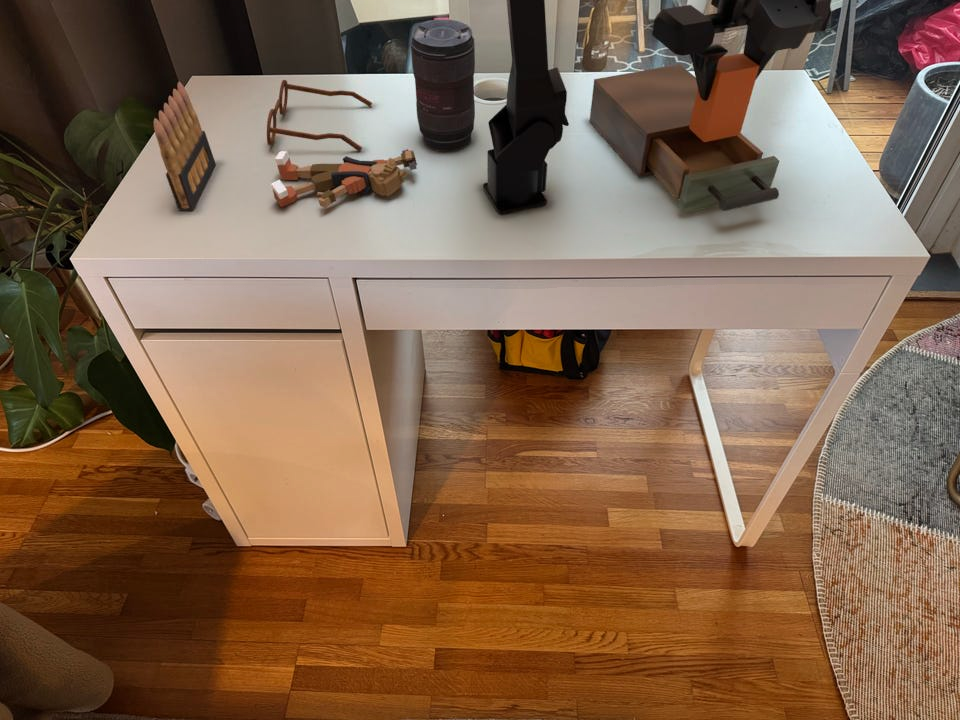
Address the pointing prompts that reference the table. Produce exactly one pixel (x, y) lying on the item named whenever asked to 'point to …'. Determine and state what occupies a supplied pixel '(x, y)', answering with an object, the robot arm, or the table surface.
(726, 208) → the drawer
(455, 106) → the camera lens
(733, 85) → the orange rectangular block
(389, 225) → the table surface
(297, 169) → the character figurine
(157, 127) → the ammunition clip
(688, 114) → the cabinet
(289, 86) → the glasses
